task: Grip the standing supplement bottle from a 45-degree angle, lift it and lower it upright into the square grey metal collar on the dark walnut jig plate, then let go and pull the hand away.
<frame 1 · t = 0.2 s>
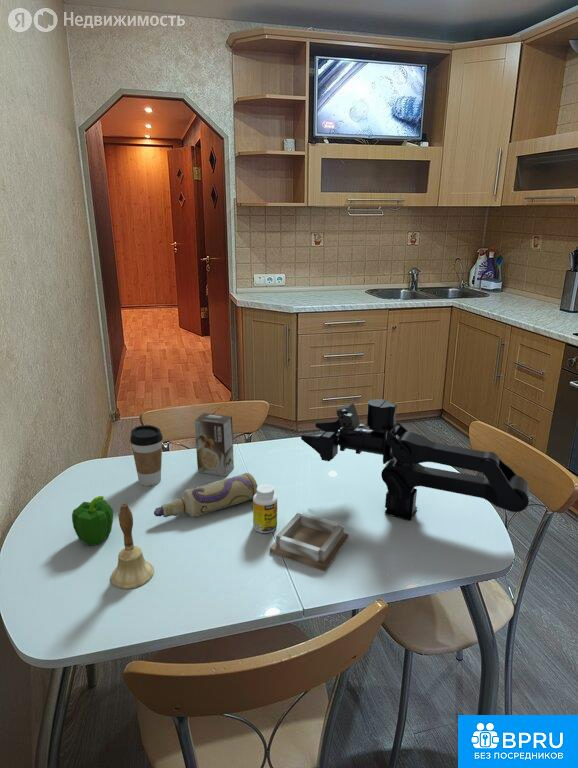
hand: (308, 430, 128), 17 cm above the table, tool horizontal, fingers open, 9 cm apart
jig: (309, 544, 109), on the table
hand bell: (132, 575, 99), on the table
coffee box: (215, 470, 143), on the table
supplement bottle: (265, 528, 116), on the table
coffee cup: (150, 481, 136), on the table
bell pepper: (95, 539, 111), on the table
decorative bottle: (208, 508, 124), on the table
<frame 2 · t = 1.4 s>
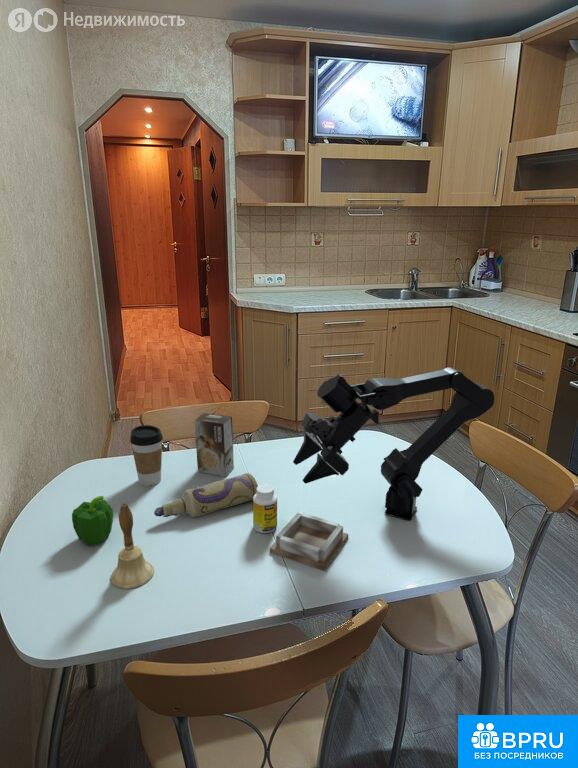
hand: (298, 472, 113), 13 cm above the table, tool tilted 45°, fingers open, 9 cm apart
nothing on the table moved.
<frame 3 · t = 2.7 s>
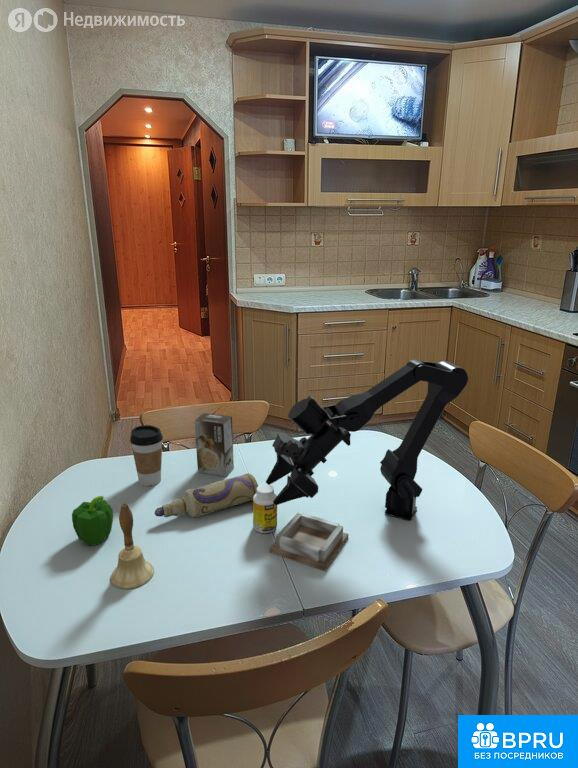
hand: (270, 493, 113), 9 cm above the table, tool tilted 45°, fingers open, 9 cm apart
nothing on the table moved.
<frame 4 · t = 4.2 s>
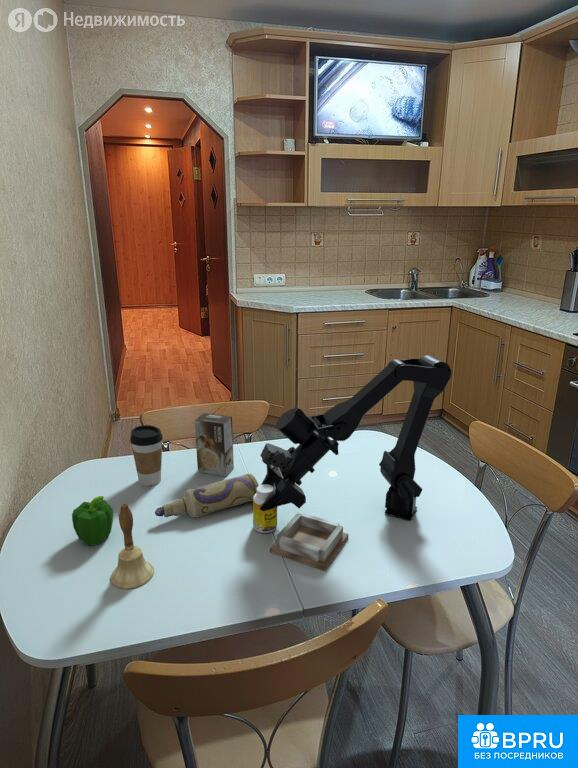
hand: (259, 503, 113), 7 cm above the table, tool tilted 45°, fingers closed on supplement bottle, 6 cm apart
supplement bottle: (265, 528, 116), on the table, touching gripper
everything else where it was.
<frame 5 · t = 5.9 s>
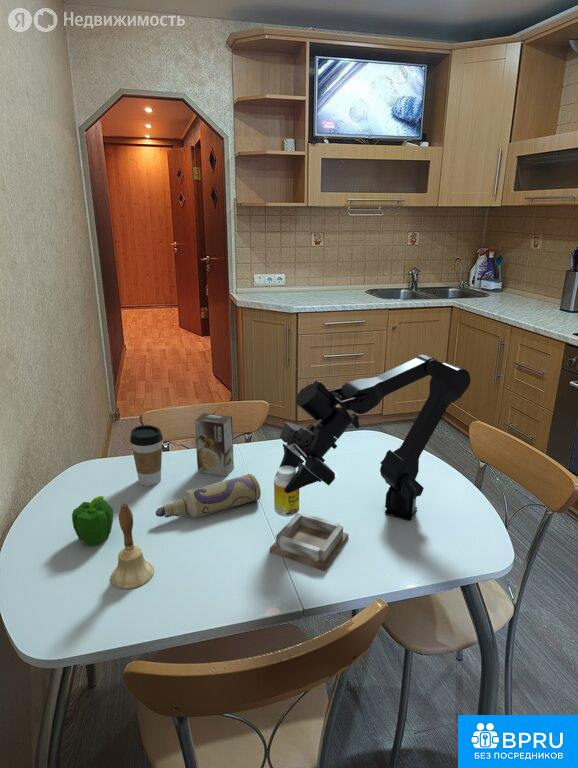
hand: (280, 485, 108), 13 cm above the table, tool tilted 45°, fingers closed on supplement bottle, 6 cm apart
supplement bottle: (286, 511, 110), point 6 cm above the table, touching gripper
everything else where it was.
when the fingers open (9 cm above the table, at t = 7.8 s): supplement bottle drops 1 cm, resting on jig.
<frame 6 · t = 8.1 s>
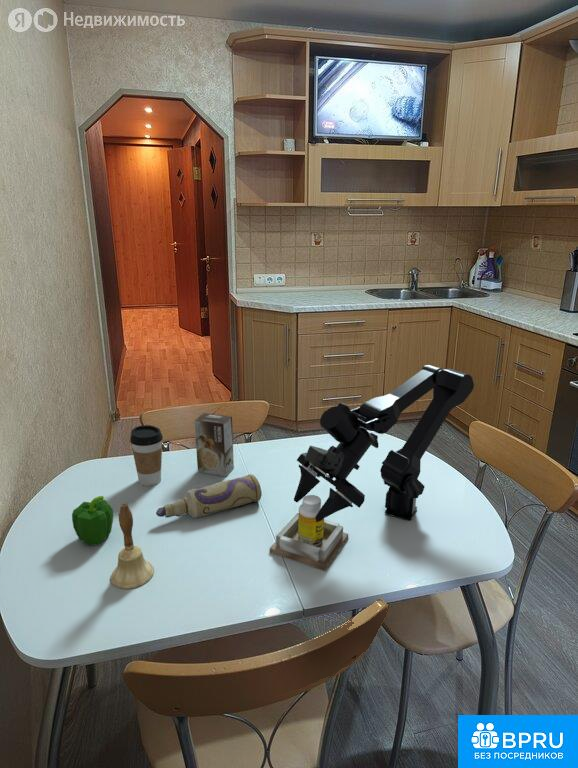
hand: (305, 510, 106), 9 cm above the table, tool tilted 45°, fingers open, 8 cm apart
supplement bottle: (310, 541, 109), point 1 cm above the table, touching jig
everything else where it was.
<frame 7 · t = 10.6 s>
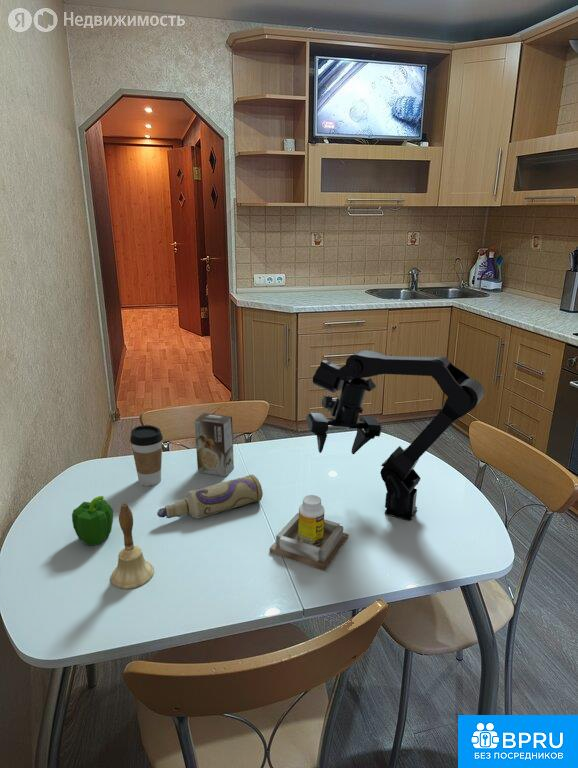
hand: (336, 452, 129), 11 cm above the table, tool pointing down, fingers open, 9 cm apart
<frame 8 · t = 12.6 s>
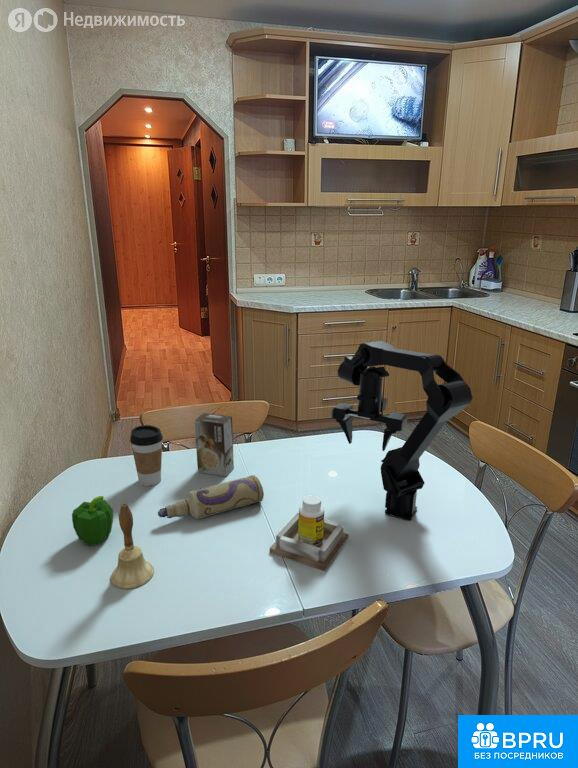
hand: (366, 446, 130), 12 cm above the table, tool pointing down, fingers open, 9 cm apart
at the end: supplement bottle 0.2 cm off-centre on the jig, point 0.8 cm above the jig's base; supplement bottle tilted 0°; the gripper is holding nothing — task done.
